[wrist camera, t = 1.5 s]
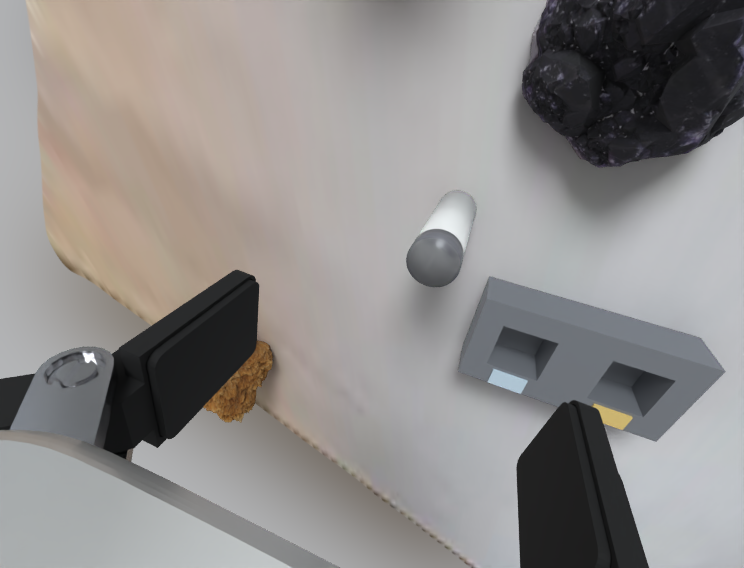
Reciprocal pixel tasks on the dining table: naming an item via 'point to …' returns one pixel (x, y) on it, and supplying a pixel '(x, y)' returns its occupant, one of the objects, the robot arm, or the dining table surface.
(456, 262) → the plug
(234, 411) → the stuffed squirrel
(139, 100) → the dining table surface
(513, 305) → the socket block
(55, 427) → the robot arm
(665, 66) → the black rock
